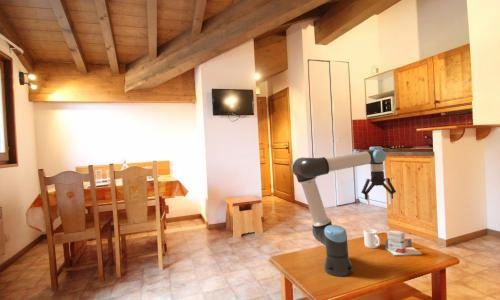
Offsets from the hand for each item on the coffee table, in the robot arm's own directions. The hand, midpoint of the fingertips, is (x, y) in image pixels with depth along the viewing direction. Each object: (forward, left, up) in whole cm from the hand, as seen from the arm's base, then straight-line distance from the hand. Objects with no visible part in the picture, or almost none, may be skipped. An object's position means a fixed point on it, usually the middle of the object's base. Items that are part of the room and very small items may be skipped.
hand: (379, 204), depth 165 cm
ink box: (+8, -2, -29) cm, 30 cm away
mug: (-3, +9, -30) cm, 32 cm away
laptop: (+11, -1, -30) cm, 32 cm away
